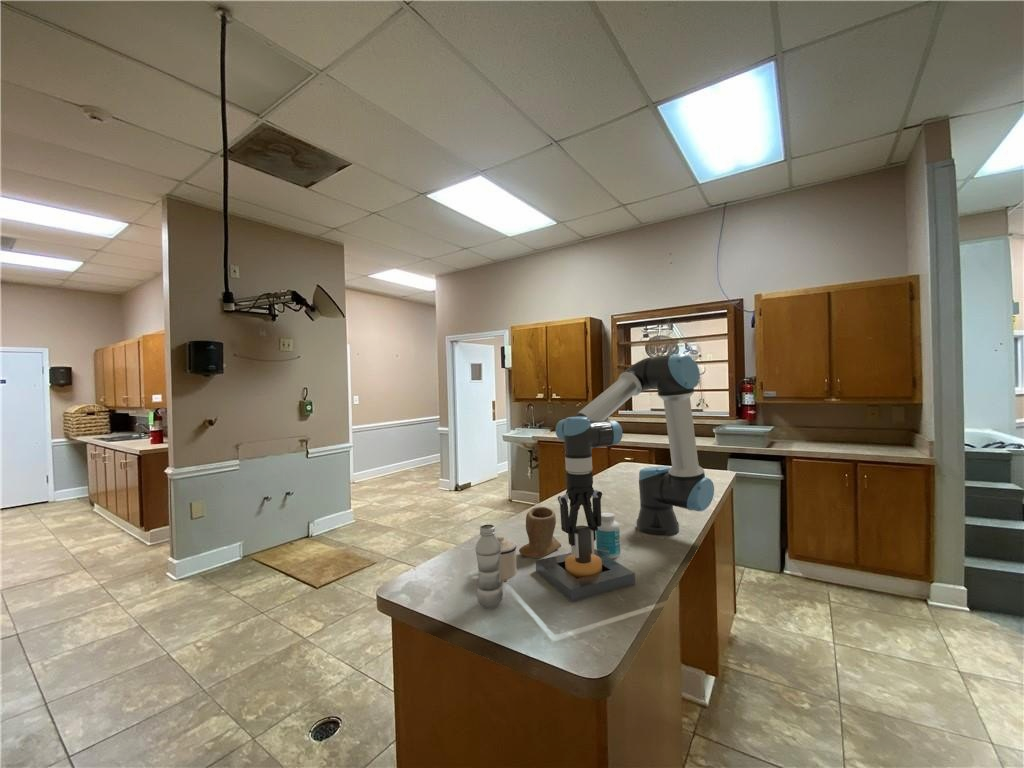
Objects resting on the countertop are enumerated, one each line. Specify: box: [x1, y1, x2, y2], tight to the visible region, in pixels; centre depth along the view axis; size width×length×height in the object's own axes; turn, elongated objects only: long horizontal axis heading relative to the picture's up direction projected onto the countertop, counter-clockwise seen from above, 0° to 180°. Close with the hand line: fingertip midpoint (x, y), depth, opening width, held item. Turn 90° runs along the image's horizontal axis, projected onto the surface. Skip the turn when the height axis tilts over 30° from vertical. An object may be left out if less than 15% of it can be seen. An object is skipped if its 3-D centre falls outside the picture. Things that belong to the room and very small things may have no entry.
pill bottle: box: [595, 512, 621, 560], centre depth 131 cm, size 8×7×14 cm
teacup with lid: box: [496, 535, 518, 583], centre depth 122 cm, size 12×9×12 cm
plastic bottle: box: [475, 523, 504, 609], centre depth 105 cm, size 6×7×20 cm
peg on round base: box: [565, 525, 602, 578], centre depth 116 cm, size 10×10×12 cm
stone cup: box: [518, 506, 562, 559], centre depth 137 cm, size 15×12×15 cm
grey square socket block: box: [535, 548, 636, 603], centre depth 116 cm, size 20×20×4 cm
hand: (583, 554), depth 116 cm, fingers closed on peg on round base, 4 cm apart
